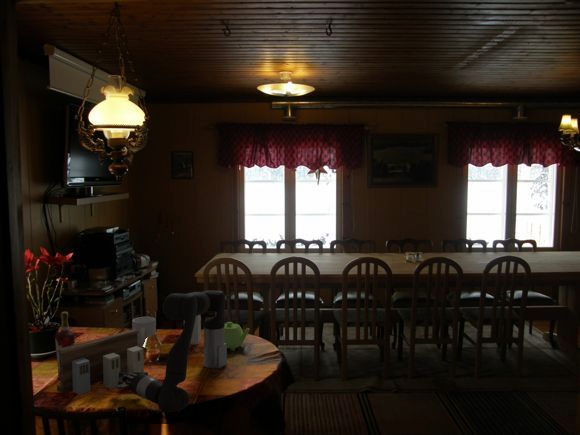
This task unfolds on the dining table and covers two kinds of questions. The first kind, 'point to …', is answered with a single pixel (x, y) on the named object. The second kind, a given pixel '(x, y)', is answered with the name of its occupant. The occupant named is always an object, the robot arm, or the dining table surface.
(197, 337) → the milk carton
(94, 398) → the dining table surface
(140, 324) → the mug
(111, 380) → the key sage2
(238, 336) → the teapot
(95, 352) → the backboard
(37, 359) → the dining table surface
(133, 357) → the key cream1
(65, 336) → the liquor
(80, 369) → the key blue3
